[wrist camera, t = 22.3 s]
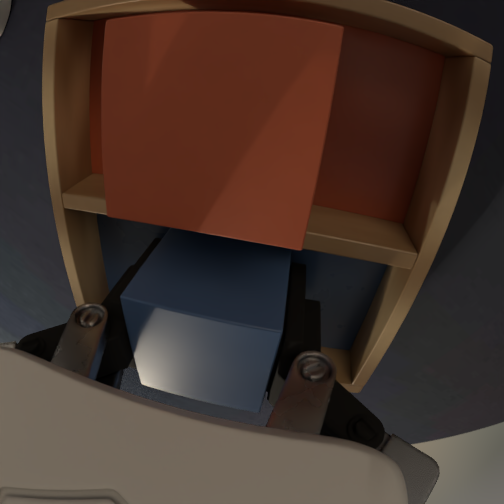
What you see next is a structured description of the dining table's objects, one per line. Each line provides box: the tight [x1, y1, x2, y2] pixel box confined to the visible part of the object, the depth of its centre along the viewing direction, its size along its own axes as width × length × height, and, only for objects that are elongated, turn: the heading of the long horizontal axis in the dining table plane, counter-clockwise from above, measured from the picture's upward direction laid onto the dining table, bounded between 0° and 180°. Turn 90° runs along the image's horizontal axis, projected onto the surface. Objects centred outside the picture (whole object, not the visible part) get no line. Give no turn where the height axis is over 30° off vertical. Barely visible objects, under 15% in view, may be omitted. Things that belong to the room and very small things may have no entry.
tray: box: [42, 0, 493, 393], centre depth 10 cm, size 14×13×3 cm
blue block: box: [120, 228, 292, 413], centre depth 11 cm, size 4×4×4 cm
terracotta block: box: [101, 12, 344, 250], centre depth 7 cm, size 4×4×4 cm
